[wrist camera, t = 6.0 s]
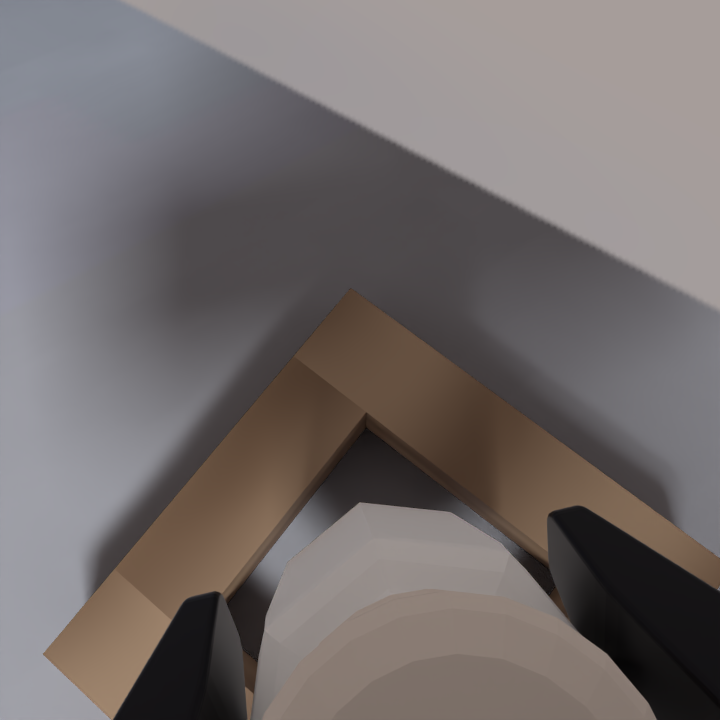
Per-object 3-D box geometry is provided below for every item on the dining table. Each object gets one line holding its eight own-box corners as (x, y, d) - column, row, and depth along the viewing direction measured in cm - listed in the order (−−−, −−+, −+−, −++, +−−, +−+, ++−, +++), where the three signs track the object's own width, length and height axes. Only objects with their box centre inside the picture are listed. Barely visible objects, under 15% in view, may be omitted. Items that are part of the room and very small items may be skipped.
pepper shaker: (246, 537, 15) (-63, 524, 4) (470, 469, 15) (706, 299, 5) (308, 798, 13) (81, 1770, 3) (555, 716, 14) (1186, 1303, 3)
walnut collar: (683, 562, 18) (731, 566, 16) (432, 962, 16) (443, 1037, 14) (352, 317, 20) (350, 287, 18) (85, 638, 18) (42, 654, 16)
